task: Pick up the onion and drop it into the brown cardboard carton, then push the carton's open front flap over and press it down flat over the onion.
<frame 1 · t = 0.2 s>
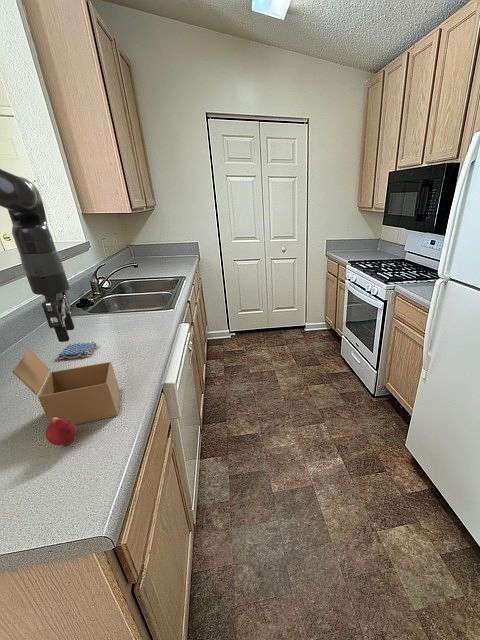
hand: (67, 335, 85), 21 cm above the counter, tool pointing down, fingers open, 8 cm apart
onion: (67, 445, 79), on the counter
flap: (32, 370, 83), point 14 cm above the counter, hinge at 110.0°
carton: (89, 408, 92), on the counter
woven mat: (79, 353, 125), on the counter
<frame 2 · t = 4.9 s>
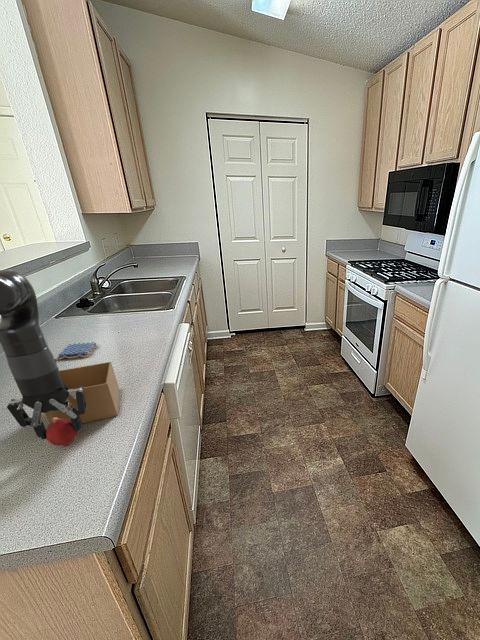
hand: (61, 432, 77), 4 cm above the counter, tool pointing down, fingers closed on onion, 6 cm apart
onion: (67, 445, 79), on the counter, touching gripper
everything else where it was.
when the fingers open (10 cm above the counter, at t = 11.2 s): onion drops 5 cm, resting on carton.
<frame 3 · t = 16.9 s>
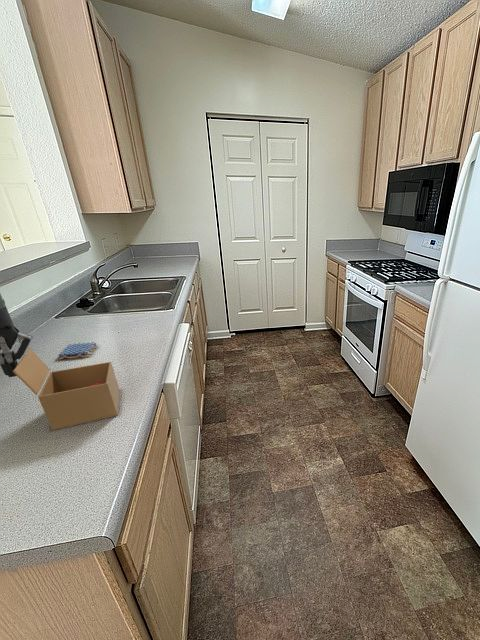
hand: (14, 375, 81), 14 cm above the counter, tool pointing down, fingers closed
onion: (88, 403, 91), point 1 cm above the counter, touching carton
flap: (33, 370, 83), point 14 cm above the counter, hinge at 108.6°, touching gripper
everything else where it was.
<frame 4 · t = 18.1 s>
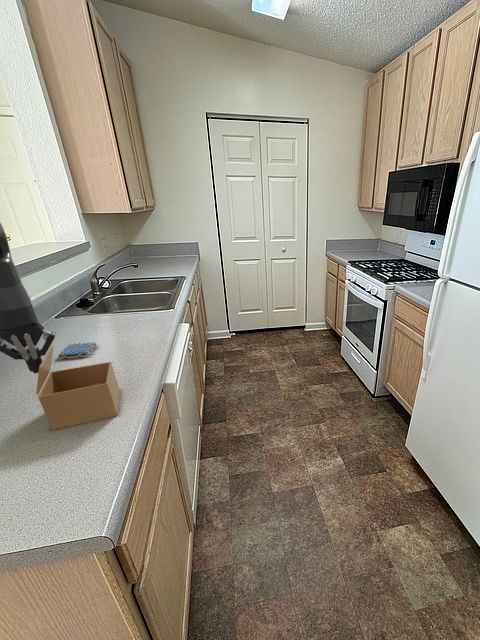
hand: (38, 371, 83), 14 cm above the counter, tool pointing down, fingers closed
flap: (45, 368, 83), point 14 cm above the counter, hinge at 68.5°
everything else where it was.
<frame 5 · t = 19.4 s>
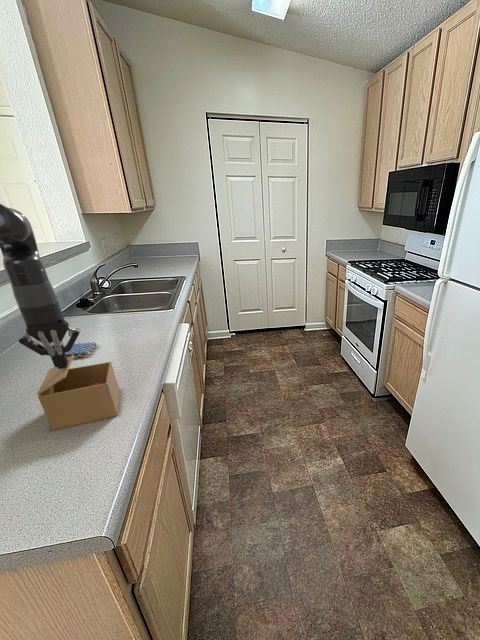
hand: (62, 367, 85), 14 cm above the counter, tool pointing down, fingers closed
flap: (56, 373, 85), point 12 cm above the counter, hinge at 26.2°
everything else where it was.
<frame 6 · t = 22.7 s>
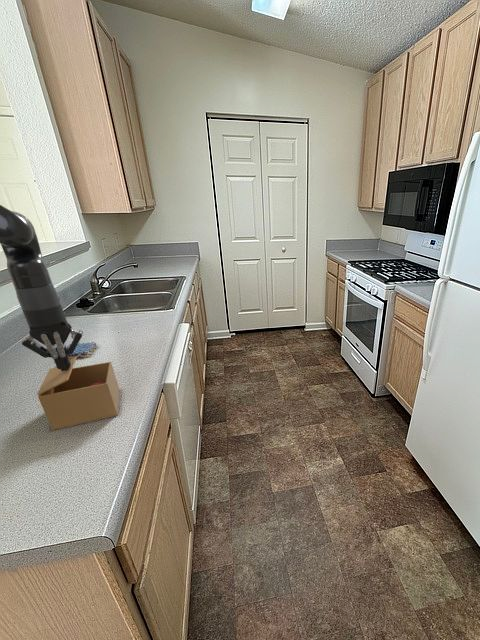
hand: (65, 369, 85), 13 cm above the counter, tool pointing down, fingers closed
flap: (58, 374, 85), point 12 cm above the counter, hinge at 19.2°, touching gripper
everything else where it was.
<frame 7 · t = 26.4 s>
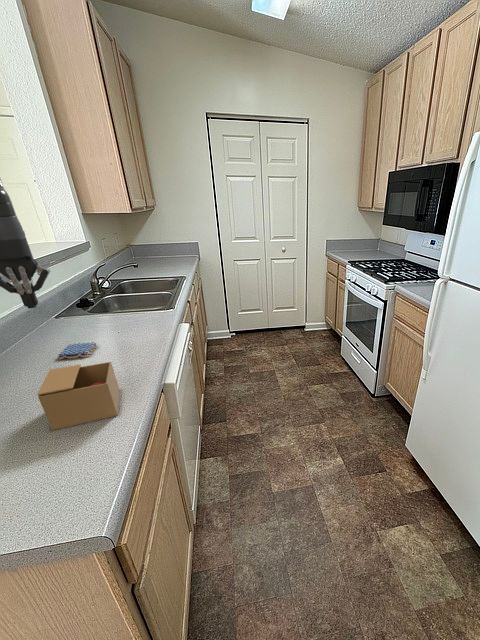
hand: (32, 307, 86), 27 cm above the counter, tool pointing down, fingers closed
flap: (60, 378, 86), point 11 cm above the counter, hinge at 0.1°
everything else where it was.
at the end: onion inside the target area in the carton (0.3 cm from its centre), point 1.5 cm above the carton's base; flap at +0° (first picture: +110°) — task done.
